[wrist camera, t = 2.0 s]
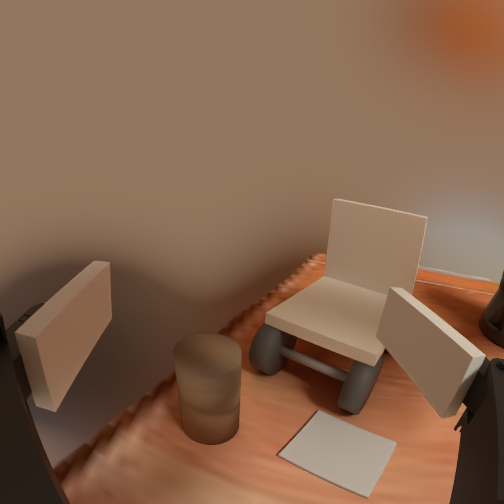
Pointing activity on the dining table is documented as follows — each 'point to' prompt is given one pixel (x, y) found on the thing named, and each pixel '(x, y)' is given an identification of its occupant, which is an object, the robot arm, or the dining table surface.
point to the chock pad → (340, 453)
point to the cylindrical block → (209, 386)
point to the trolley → (346, 298)
